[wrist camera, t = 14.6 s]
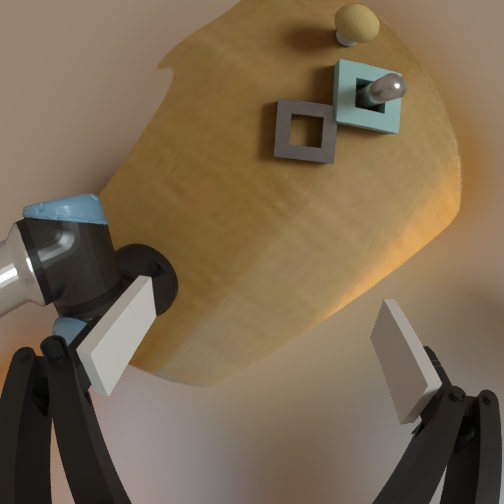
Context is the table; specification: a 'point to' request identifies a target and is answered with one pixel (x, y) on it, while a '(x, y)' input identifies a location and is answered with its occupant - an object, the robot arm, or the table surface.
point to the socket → (344, 98)
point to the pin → (381, 91)
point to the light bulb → (355, 25)
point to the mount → (326, 131)
